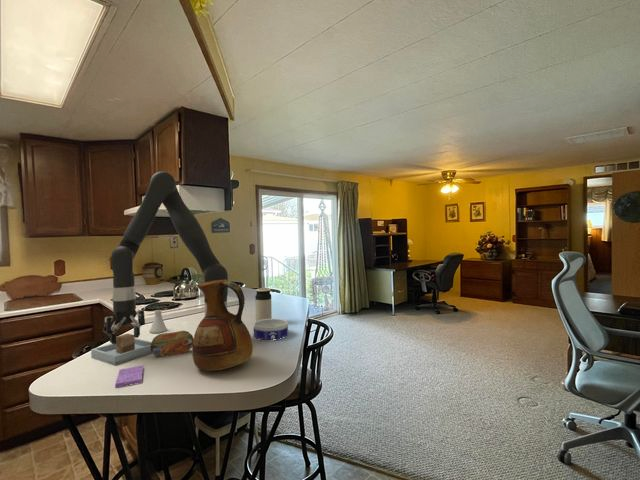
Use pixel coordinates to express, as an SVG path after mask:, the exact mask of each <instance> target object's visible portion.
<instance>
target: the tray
mask: <svg viewBox="0 0 640 480" xmlns="http://www.w3.org/2000/svg"><path fill="white" fill-rule="evenodd" d="M151 342H152V341H149V340H145V339H141V338H135V350H132V351H128V352H125V353H122V354H120V353H117V352H116V344H112V343H109V344H105V345H102V346H98V347H94V348H92V349H90V354H91V355H90V356H91V358H93V359H95V360H98V361H101V362H104V363H106V364H107V363H108V364H110V365H112V366H113V365H114V366H116V365H119V364H120V365H121V364H123V363H126V362H129V361H132V360H135V359H138V358H141V357H145V356H147V355H150V354H153V353H152V352H151V348H150V346H151Z"/></svg>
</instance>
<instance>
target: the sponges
mask: <svg viewBox="0 0 640 480" xmlns="http://www.w3.org/2000/svg"><path fill="white" fill-rule="evenodd" d="M143 373H144V365H143V364H141V365H137V366H132V367H126V368H121V369H120V368H119V370H118V375H117V377H116V380H115V384H114V389H116V388H117V387H118V388H121V386H123V387H127V386H126V385H128V386H131V385H130V384H133V385H136V384H135V383H138V384H141V383H140V382H143Z"/></svg>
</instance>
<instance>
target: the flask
mask: <svg viewBox="0 0 640 480" xmlns="http://www.w3.org/2000/svg"><path fill="white" fill-rule="evenodd" d="M153 312H154V317H153V322H152V324H151V327H150V330H149V333H151V334H162V333H164V332H165V333H166V332H167V331H168V328H167V326H166V324H165V322H164V319H163V316H162V313H163V310H161V309H156V310H153Z"/></svg>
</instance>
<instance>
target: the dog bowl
mask: <svg viewBox="0 0 640 480" xmlns="http://www.w3.org/2000/svg"><path fill="white" fill-rule="evenodd" d="M288 333H289V322H288V321H287V320H286V319H282V318H281V319H280V318H272V319H263V320H259V321H256V320H255V322H254V323H253V337H255V338H256V339H255V338H254V339H255V340H257V339H260V340H259V341H262V340H273V339H280V338H283V337H285V338H287V337H288ZM286 336H287V337H286ZM283 339H284V338H283ZM280 340H281V339H280Z"/></svg>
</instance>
